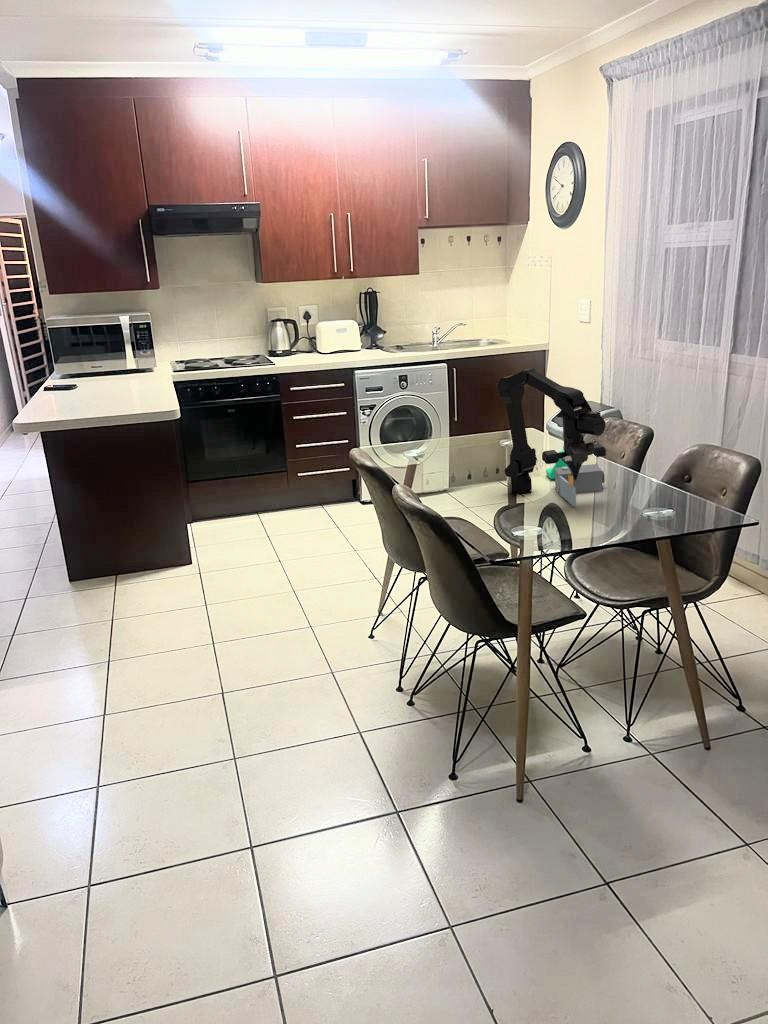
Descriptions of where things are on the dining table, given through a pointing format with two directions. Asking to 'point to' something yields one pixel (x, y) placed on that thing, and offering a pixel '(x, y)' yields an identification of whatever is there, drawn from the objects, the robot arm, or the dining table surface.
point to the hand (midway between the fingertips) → (575, 479)
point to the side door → (567, 489)
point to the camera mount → (551, 471)
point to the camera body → (583, 478)
